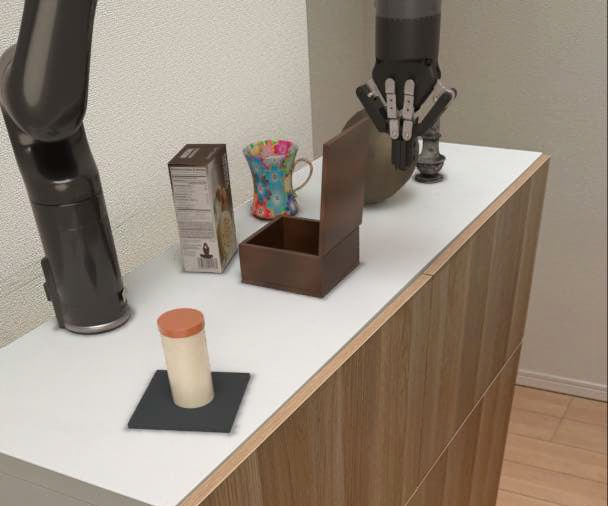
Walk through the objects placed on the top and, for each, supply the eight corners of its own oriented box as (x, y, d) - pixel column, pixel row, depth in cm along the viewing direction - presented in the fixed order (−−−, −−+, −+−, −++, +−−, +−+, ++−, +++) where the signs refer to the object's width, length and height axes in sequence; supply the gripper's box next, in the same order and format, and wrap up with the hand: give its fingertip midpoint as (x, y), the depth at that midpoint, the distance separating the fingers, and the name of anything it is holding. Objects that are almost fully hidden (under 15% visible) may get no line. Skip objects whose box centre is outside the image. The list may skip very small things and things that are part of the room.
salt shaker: (408, 175, 146) (410, 105, 138) (436, 171, 147) (441, 101, 139) (420, 185, 142) (424, 113, 134) (449, 180, 143) (455, 109, 135)
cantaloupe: (340, 219, 132) (339, 123, 122) (332, 190, 142) (330, 100, 132) (422, 212, 132) (428, 116, 122) (408, 185, 143) (412, 94, 133)
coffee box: (201, 248, 126) (186, 142, 115) (238, 249, 125) (227, 142, 114) (183, 272, 119) (166, 162, 108) (223, 274, 118) (209, 162, 107)
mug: (240, 221, 134) (234, 155, 126) (259, 201, 140) (254, 138, 133) (306, 226, 131) (303, 159, 123) (322, 206, 137) (320, 141, 130)
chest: (241, 282, 116) (237, 244, 112) (282, 250, 124) (280, 213, 120) (322, 298, 111) (320, 258, 107) (359, 264, 119) (359, 226, 115)
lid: (322, 143, 96) (328, 145, 96) (365, 116, 104) (370, 117, 104) (318, 255, 106) (323, 256, 106) (357, 222, 114) (362, 223, 114)
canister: (166, 408, 90) (151, 329, 84) (178, 384, 94) (164, 307, 87) (209, 409, 90) (197, 330, 83) (219, 385, 94) (208, 308, 87)
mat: (128, 428, 89) (127, 423, 89) (157, 373, 98) (156, 369, 97) (229, 432, 87) (229, 428, 87) (250, 376, 96) (249, 372, 95)
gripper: (475, 4, 88) (461, 165, 100) (369, 1, 93) (368, 154, 105) (451, 17, 83) (440, 184, 95) (341, 13, 88) (344, 172, 100)
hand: (402, 168), depth 100 cm, fingers closed
